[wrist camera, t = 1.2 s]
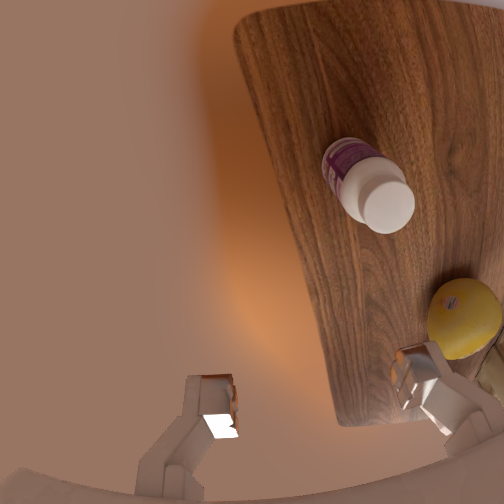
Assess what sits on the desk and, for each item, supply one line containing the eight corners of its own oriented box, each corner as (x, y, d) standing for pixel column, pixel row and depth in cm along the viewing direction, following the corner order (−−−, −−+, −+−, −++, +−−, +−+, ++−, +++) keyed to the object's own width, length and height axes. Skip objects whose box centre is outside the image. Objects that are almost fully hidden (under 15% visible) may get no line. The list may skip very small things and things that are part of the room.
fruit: (401, 315, 39) (429, 372, 30) (450, 252, 34) (493, 305, 25) (442, 329, 42) (469, 378, 33) (487, 276, 36) (523, 322, 28)
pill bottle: (308, 161, 28) (337, 205, 20) (352, 124, 26) (400, 154, 18) (342, 201, 30) (378, 256, 22) (383, 167, 28) (434, 211, 20)
